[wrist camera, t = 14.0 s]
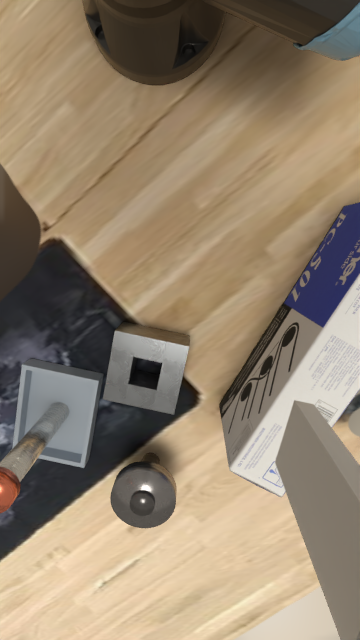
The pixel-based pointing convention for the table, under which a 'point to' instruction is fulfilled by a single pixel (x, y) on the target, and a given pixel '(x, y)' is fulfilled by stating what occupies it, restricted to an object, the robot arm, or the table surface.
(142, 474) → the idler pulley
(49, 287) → the table surface
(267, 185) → the table surface
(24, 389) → the tray
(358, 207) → the ink box
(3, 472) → the pin
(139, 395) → the block
